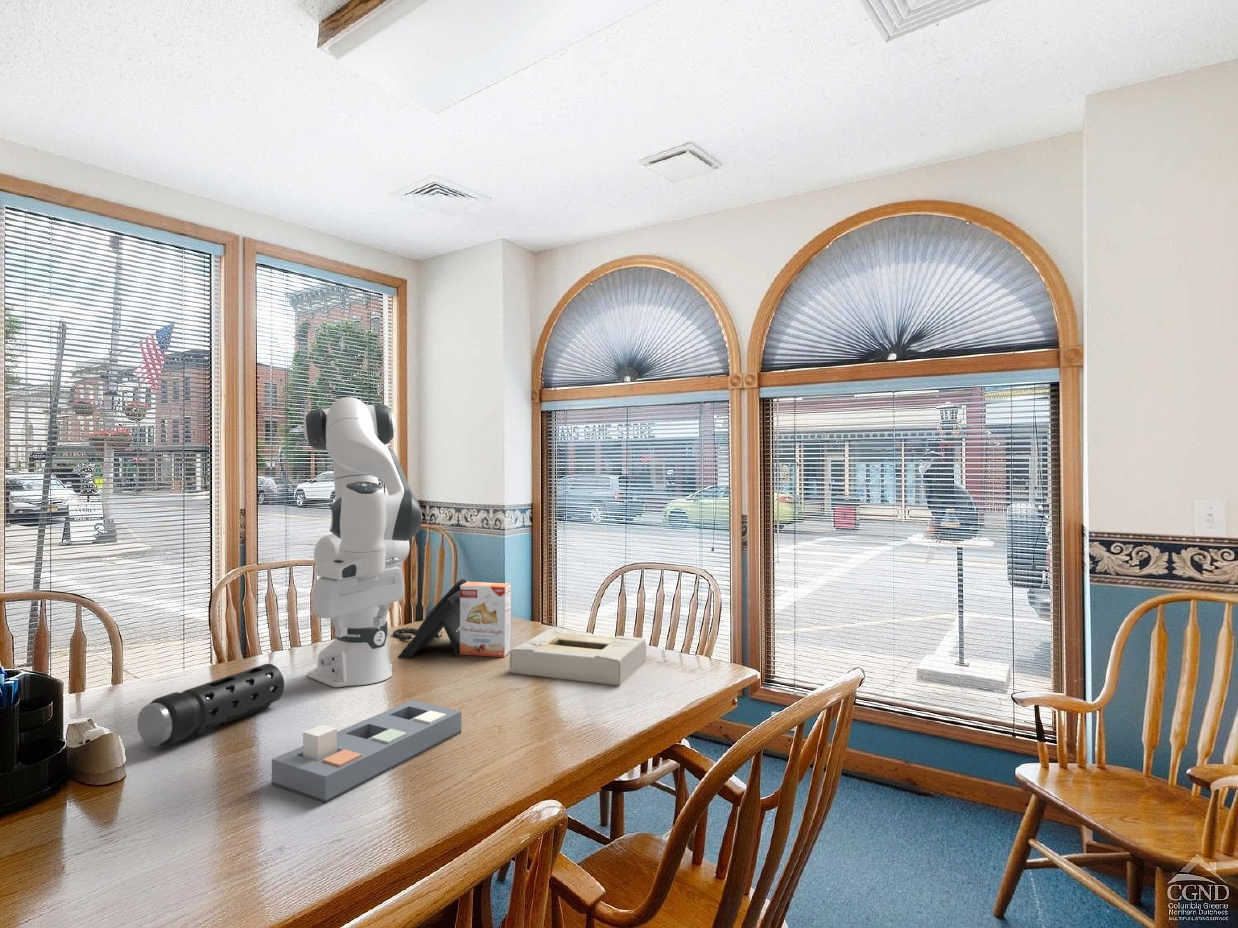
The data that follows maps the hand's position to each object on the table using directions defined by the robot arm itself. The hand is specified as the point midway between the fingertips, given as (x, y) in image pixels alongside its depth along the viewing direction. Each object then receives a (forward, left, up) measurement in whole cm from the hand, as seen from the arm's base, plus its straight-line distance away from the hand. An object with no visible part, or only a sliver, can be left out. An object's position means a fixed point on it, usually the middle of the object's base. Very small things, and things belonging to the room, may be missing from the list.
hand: (360, 630), depth 140 cm
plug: (+5, -14, -23) cm, 27 cm away
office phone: (-42, +62, -23) cm, 79 cm away
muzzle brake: (-34, -9, -23) cm, 42 cm away
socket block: (+7, -3, -23) cm, 24 cm away
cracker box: (-19, +63, -23) cm, 70 cm away
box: (+12, +66, -24) cm, 71 cm away
